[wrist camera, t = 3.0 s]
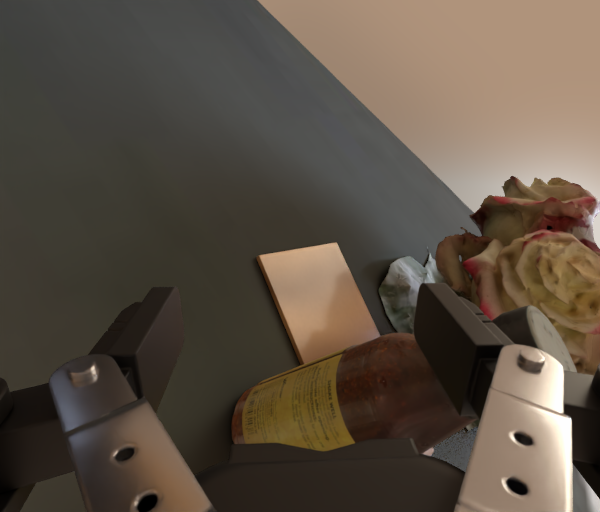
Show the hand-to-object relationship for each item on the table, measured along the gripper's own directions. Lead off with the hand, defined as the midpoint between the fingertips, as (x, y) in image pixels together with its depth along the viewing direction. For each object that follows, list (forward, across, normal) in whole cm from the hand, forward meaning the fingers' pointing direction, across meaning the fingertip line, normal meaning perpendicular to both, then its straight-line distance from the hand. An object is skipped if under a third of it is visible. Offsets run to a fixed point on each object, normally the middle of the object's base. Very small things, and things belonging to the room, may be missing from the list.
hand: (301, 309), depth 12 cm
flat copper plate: (+18, +6, -16) cm, 25 cm away
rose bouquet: (+31, +21, -22) cm, 44 cm away
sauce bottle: (+10, -2, -16) cm, 19 cm away
